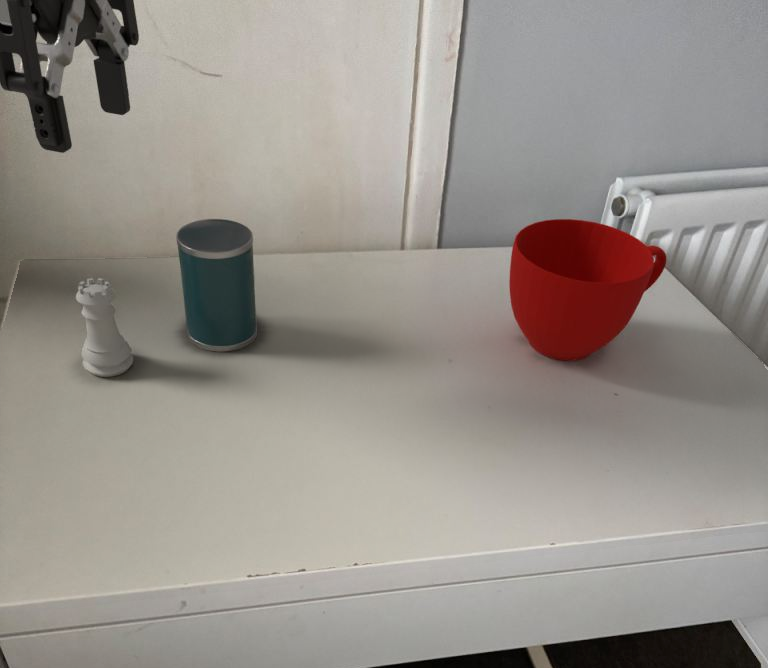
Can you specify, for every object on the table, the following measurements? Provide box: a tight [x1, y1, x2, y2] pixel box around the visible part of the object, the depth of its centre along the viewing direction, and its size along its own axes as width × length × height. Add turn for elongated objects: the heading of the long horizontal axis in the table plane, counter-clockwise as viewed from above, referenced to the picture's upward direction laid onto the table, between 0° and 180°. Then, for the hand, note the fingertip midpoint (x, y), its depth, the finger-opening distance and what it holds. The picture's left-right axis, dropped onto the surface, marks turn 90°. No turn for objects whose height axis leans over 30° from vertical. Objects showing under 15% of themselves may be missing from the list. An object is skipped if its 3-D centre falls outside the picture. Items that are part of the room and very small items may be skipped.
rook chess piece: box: [75, 277, 134, 378], centre depth 73 cm, size 4×4×8 cm
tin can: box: [175, 218, 258, 353], centre depth 78 cm, size 7×7×10 cm
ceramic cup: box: [508, 218, 667, 361], centre depth 81 cm, size 13×17×10 cm
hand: (87, 130), depth 63 cm, fingers open, 8 cm apart
